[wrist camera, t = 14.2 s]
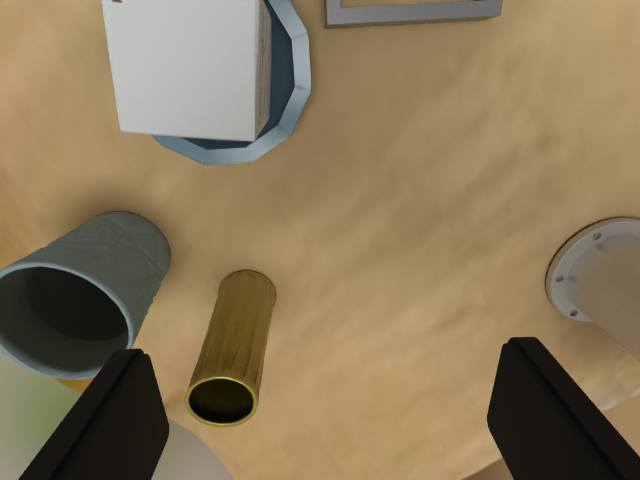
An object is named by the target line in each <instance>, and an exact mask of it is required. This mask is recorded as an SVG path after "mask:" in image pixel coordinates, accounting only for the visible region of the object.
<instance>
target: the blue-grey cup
mask: <svg viewBox="0 0 640 480" xmlns="http://www.w3.org/2000/svg"><path fill="white" fill-rule="evenodd" d="M169 264H170V249H169V245H168V242H167V240H166V238H165V237H164V235H163V234H162V232H161V231H160V230H159V229H158V228H157V227H156V226H155V225H154V224H153V223H151V222H150V221H148V220H147V219H145V218H143V217H140V215H137V214H131V213H126V212H109V213H104V214H101V215H98V216H96V217H95V218H93V219H91V220H89V221H88V222H86V223H84V224H82V225H81V226H79V227H78V229H76V230H73V231H71V232H69V233H67V234H65V235H64V236H62V237H60V238H58V239H56V240H55V241H53V242H52V243H50V244H49V245H48V246H46V247H44V248H41V249H39V250H37V251H35V252H33V253H32V254H30V255H28V256H26V257H24V258H22V259H20V260H18V261H16V262H15V263H13V264H11V265H9V266H7V267H5V268H3V269H1V270H0V351H1V352H2V353H4V354H6V355H7V356H9V357H10V358H12V359H13V360H14V361H16V362H17V363H19V364H20V365H22V366H24V367H26V368H28V369H29V370H31V371H34V372H37V373H39V374H44V375H47V376H51V377H55V378H63V379H85V378H91V377H95V376H96V375H97V374H98V372H99V371H100V370H101V368H102V367H103V366H104V364H105V363H106V362H107V360H108V359H109V358H110V356H111V355H112V354H113V353H114V352H115V351H116V350H118V349H131V348H132V346H133V344H134V342H135V339H136V337H137V335H138V333H139V330H140V328H141V326H142V323H143V321H144V319H145V316H146V315H147V313H148V309H149V307H150V305H151V304H152V303H153V297H154V296H155V295H156V294H157V291H158V290H159V287H160V284H161V282H162V279H163V278H164V276H165V274H166V272H167V270H168V268H169Z"/></svg>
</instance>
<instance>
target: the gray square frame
mask: <svg viewBox="0 0 640 480" xmlns="http://www.w3.org/2000/svg"><path fill="white" fill-rule="evenodd" d="M502 2H503V0H475V1H465V2H445V3H426V4H407V5H387V6H368V7H349V8H341V3H340V0H324V6H325V28H343V27H362V26H381V25H400V24H419V23H438V22H456V21H475V20H487V19H490V18H494V17H497V16H500V15H501V10H502Z"/></svg>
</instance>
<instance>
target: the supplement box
mask: <svg viewBox="0 0 640 480" xmlns="http://www.w3.org/2000/svg"><path fill="white" fill-rule="evenodd" d="M101 4H102V10H103V16H104V23H105V29H106V36H107V44H108V51H109V57H110V64H111V71H112V78H113V85H114V92H115V99H116V105H117V113H118V119H119V125H120V130H121V131H122V132H126V133H135V134H147V135H160V136H173V137H187V138H202V139H218V140H232V141H255V140H256V138H257V137H258V135H259V134H260V132H261V130H262V129H263V127H264V126H265V124H266V123H267V121H268V120H269V118H270V117H271V84H272V19H271V17H270V14H269V12H268V10H267V8H266V5H265V3H264V1H263V0H101Z"/></svg>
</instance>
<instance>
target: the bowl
mask: <svg viewBox="0 0 640 480" xmlns="http://www.w3.org/2000/svg"><path fill="white" fill-rule="evenodd" d="M263 1H264V3H265V5H266V8H267V10H268V12H269V14H270V17H271V19H272V84H271V117H270V118H269V120H268V121H267V123H266V124H265V126H264V127H263V129H262V130H261V132H260V134H259V135H258V137H257V138H256V140H255V141H232V140H218V139H202V138H187V137H173V136H160V135H152V136H153V137H154V139H155V140H156V141H157V142H158V143H160V142H161V143H160V145H162V146H164V147H166V148H169V149H171V150H173V151H175V152H177V153H179V154H182V155H184V156H186V157H188V158H190V159H193V160H195V161H197V162H199V163H201V164H203V165H205V164H206V165H219V164H236V163H251V162H253V161H255V160H256V159H258V158H259V157H261V156H262V155H264V154H265V153H266V152H268V151H269V150H271V149H272V148H274V147H275V146H277V145H278V144H280V143H281V142H282V141H284V140H285V139H287V138H288V137H289V136H290V135H291V133H292V131H293V129H294V127H295V125H296V123H297V120H298V118H299V116H300V114H301V112H302V110H303V107H304V105H305V103H306V101H307V99H308V97H309V94H310V92H311V91H310V89H311V74H310V56H309V39H308V34H307V33H308V32H307V30H306V28H305V27H304V25H303V23H302V21H301V20H300V18H299V16H298V14H297V13H296V11H295V9H294V8H293V6H292V4H291V2H290V1H289V0H263Z"/></svg>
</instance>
